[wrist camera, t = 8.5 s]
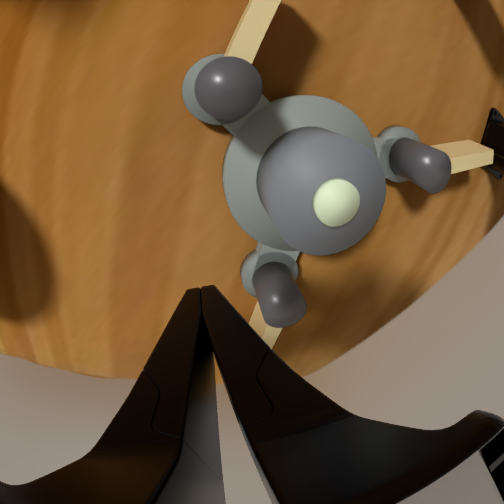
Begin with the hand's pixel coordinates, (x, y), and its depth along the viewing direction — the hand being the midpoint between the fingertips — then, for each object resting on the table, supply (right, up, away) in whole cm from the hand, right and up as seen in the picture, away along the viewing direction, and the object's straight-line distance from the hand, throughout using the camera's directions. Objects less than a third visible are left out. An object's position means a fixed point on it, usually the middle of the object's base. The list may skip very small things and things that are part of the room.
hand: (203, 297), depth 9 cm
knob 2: (+16, +10, +10) cm, 21 cm away
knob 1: (+1, +13, +4) cm, 14 cm away
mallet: (+2, -3, +15) cm, 15 cm away
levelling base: (+4, +5, +11) cm, 13 cm away
